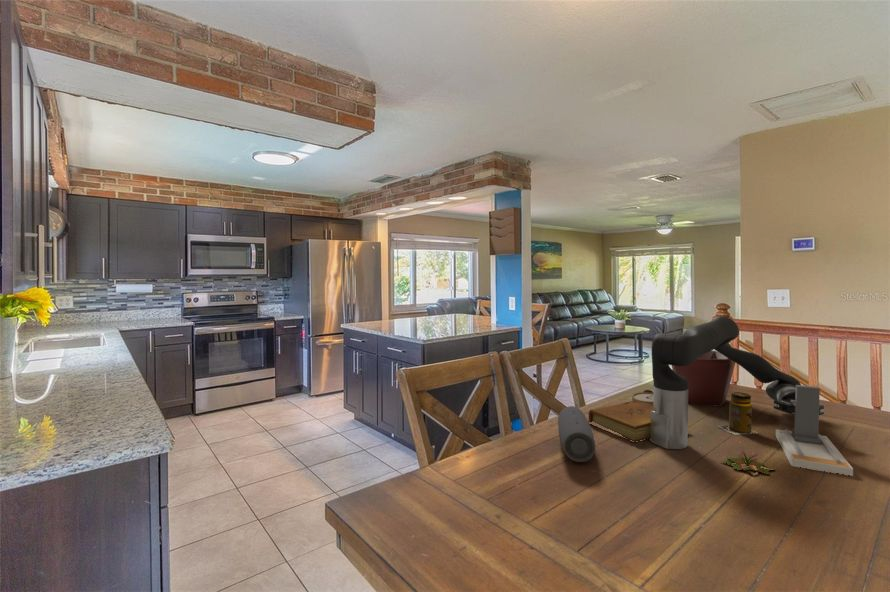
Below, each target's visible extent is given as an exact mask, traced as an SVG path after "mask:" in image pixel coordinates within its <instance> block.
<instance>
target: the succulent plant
mask: <svg viewBox="0 0 890 592" xmlns="http://www.w3.org/2000/svg"><path fill="white" fill-rule="evenodd" d="M740 452H741V453H739V454H737V457H727V459H728V460H724V461H720V463H722V464H726V463H727V464H726V465H728V466H732V468H733V469H737V470H736V471H740V470H742V469H745V470H747V471H749V470H752V469H753V468H747V467H746V466H749V465H754V466H756V468H757V469H758V470H754V471H758V472H759V473H760V472H761V473H763V472H765V473H767V474H770V471H769V470H767V469H764V468H760V467H761V466H763V467H766V468H769V469H773V470H775V469H774V468H771V467H770V466H765V465H764V463H763V462H761V461H758V458H754V457H758V455H759V453H756V454H753V455H752V453H753V450H752V451H751V452H750V454H748V452H746V453H745V451H744V450H741V451H740ZM748 455H749V456H748ZM751 455H752V456H751ZM745 461H746V462H745ZM732 463H736V464H733V465H730V464H732ZM741 464H746V465H745V467H746V468H747V469H746V468H745V467H744V468H742V466H741ZM749 467H750V466H749ZM752 471H753V470H752ZM765 473H763V474H764V475H767V474H765ZM747 474H749V473H747ZM749 475H750V474H749ZM758 475H759V474H757V475H756V476H758ZM770 475H771V474H770Z"/></svg>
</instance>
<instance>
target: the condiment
mask: <svg viewBox="0 0 890 592" xmlns="http://www.w3.org/2000/svg"><path fill="white" fill-rule="evenodd" d="M751 399H752V395H750V394H749V393H746V392H741V391H740V392H738V391H737V392H736V391H735V392H734V391H733V392H731V393H730V400H729V403H728V404H729V406H728V407H729V409H728V410H729V412H728V414H729V415H728V425H718V426H716V427H718V428H719V429H721V430H723V431H725V432H727V433H730V434H731V433H732V435H734V436H736V435H738V436H739V435H747V434H746V433H749V434H748V435H752V433H751V432H753V435H754V434H755V433H756V434H758V431H755V430H752V425H753V424H752V422H753V421H752V420H753V419H752V417H753V404H752V403H751V402H752V400H751ZM728 426H729V429H730V430H729V431H728V429H727V428H726V427H728ZM725 429H727V430H725ZM735 432H737V433H735Z"/></svg>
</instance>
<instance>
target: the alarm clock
mask: <svg viewBox="0 0 890 592" xmlns="http://www.w3.org/2000/svg"><path fill="white" fill-rule="evenodd" d="M653 394H654V390H651V389H645V390H643V391H641V392H640V391H639V392H634V393H633V394H632V395H631V401H635V400H637V401H641V402H644V403H647V404H651V405H653ZM631 401H629V402H631Z"/></svg>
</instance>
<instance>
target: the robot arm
mask: <svg viewBox="0 0 890 592" xmlns="http://www.w3.org/2000/svg"><path fill="white" fill-rule="evenodd" d="M739 329H740V328H739V326H738V324H737V323H736V322H735V320H733V319H732V318H731V317H728V316H725V315H719V316H717V317H715V318H713V319H711V320H710V321H709V322H704V323H701V324H698V325H695V326H691V327H689V328H687V329H686V330H685V331H684V332H683V334H674V333H662V332H661V333H660V332H659V333H657V334H655V335H654V337H653V339H652V341H651V364H652V365H651V366H652V368H651V370H652V371H651V372H652V380H653V392H654V394H653V411H651V437H650V439H649V440H650V442H651V443H653V444H655V445H656V446H660V448H661V447H662V448H664V449H666V450H668V449H669V450H670V449H671V450H682V449H683V450H684V449H686V448H687V447H688V435H689V434H688V430H689V428H688V424H689V423H688V421H689V418H688V416H689V414H688V413H689V412H688V411H689V402H688V380H687V379H686V378H685V377H683V376H681V375H679V374H677V373H676V372H674V371H673V370H672V367H671V366H672V365H674V366H688V365H690V364H691V363H693V362H694V361H695V360H696V359H697V358H698V357H699V356H701V355H703V354H705V353H708V352H710V351H718V352H719V353H721V354H723V355H724V356H726V357H727V358H729V359H731V360H732V361H734V362H735V364H736V365H738V366H740V367H741V368H743V369H744V370H745V371H746V372H748V373H749V374H750V375H751V376H752V377H753V378H755V379H756V380H757V381H758V382H760V383H762V384H768V385H767V386H766V387H765V393H766V395H767V396H768V397H769V398H770V399H772V400H773V406H772V407H773V409H775V410H777V411H780V412H784V413H787V414H789V415H793V416H795V393H796V385H802V383H801V382H800V381H799V380H798V379H797V378H795V377H794V376H792V375H790V374H787V373H785V372H783V371H781V370H779V369H777V368H776V367H775V366H773V365H772V364H771V363H770V362H769V361H767V360H766V359H765V358H763V356H761V355H759V354H757V353H754V352H750V351H747V350H742V349H738V348H736V347H733V346H731V347H730V346H729V345H727V344H726V343H730V342H731V341H733V340H735V339H737V338H738V336H739V335H740V334H739V333H740V330H739ZM822 415H825V406H824V405H822V404H819V416H822Z"/></svg>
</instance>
